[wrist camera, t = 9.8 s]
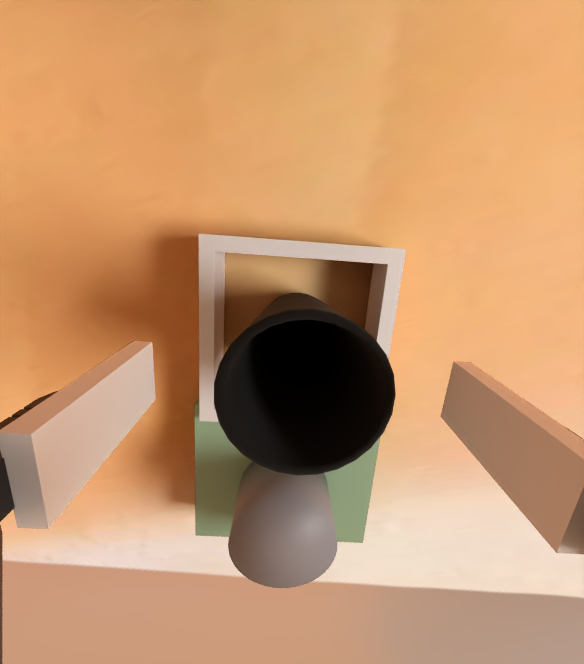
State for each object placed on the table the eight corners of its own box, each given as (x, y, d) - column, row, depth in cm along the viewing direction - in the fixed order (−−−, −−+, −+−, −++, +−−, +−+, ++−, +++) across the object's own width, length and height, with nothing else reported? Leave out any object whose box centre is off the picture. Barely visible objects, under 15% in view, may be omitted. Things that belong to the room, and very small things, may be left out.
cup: (264, 384, 26) (246, 494, 14) (234, 295, 24) (184, 341, 12) (355, 358, 26) (412, 452, 14) (331, 266, 24) (374, 285, 12)
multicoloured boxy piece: (204, 234, 23) (162, 229, 15) (395, 249, 23) (449, 250, 16) (204, 506, 29) (174, 600, 21) (355, 513, 30) (379, 608, 22)
